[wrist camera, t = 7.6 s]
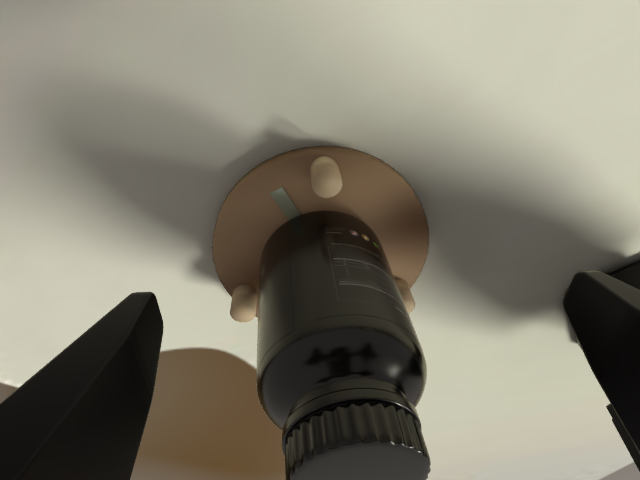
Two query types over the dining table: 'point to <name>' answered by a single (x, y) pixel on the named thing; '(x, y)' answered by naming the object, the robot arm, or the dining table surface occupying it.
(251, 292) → the dowel base
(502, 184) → the dining table surface
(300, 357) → the supplement bottle
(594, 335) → the robot arm
